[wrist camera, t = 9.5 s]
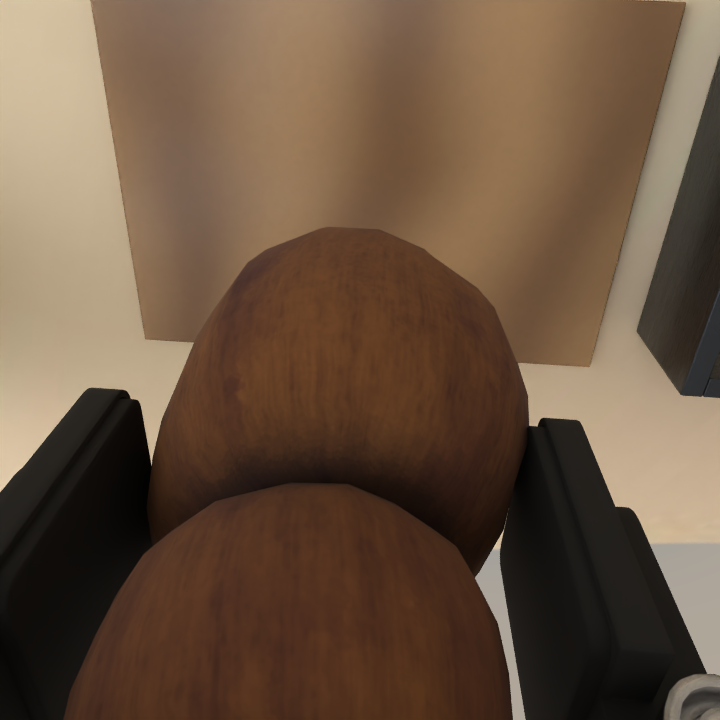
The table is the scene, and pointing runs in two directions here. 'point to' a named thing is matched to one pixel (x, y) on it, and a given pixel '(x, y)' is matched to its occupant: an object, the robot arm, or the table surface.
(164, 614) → the wooden figurine
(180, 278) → the brown wooden board
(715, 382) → the box
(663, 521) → the table surface
